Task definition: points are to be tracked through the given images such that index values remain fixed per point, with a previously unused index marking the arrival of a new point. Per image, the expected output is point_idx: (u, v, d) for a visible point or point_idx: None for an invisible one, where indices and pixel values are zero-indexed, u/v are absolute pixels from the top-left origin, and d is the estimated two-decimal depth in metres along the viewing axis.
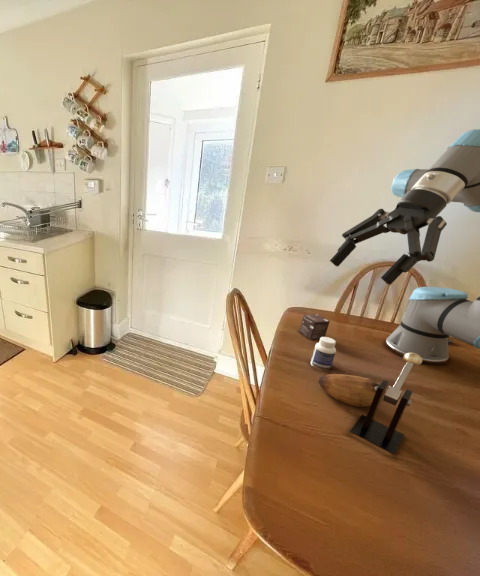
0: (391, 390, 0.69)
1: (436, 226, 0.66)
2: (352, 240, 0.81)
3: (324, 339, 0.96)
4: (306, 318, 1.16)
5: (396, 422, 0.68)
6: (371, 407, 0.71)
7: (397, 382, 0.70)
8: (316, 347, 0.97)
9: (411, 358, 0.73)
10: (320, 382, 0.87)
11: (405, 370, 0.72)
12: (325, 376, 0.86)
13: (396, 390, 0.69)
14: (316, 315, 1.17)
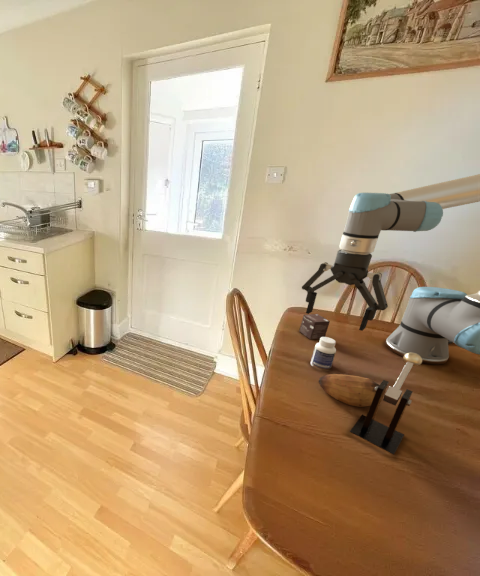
0: (391, 390, 0.69)
1: (378, 283, 0.83)
2: None
3: (324, 339, 0.96)
4: (306, 318, 1.16)
5: (396, 422, 0.68)
6: (371, 407, 0.71)
7: (397, 382, 0.70)
8: (316, 347, 0.97)
9: (411, 358, 0.73)
10: (320, 382, 0.87)
11: (405, 370, 0.72)
12: (325, 376, 0.86)
13: (396, 390, 0.69)
14: (316, 315, 1.17)
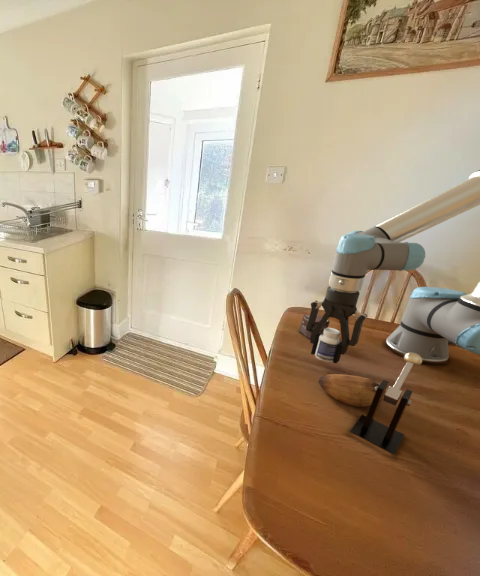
0: (391, 390, 0.69)
1: (360, 323, 0.88)
2: None
3: (328, 330, 0.95)
4: (306, 318, 1.16)
5: (396, 422, 0.68)
6: (371, 407, 0.71)
7: (397, 382, 0.70)
8: (320, 338, 0.96)
9: (411, 358, 0.73)
10: (320, 382, 0.87)
11: (405, 370, 0.72)
12: (325, 376, 0.86)
13: (396, 390, 0.69)
14: None
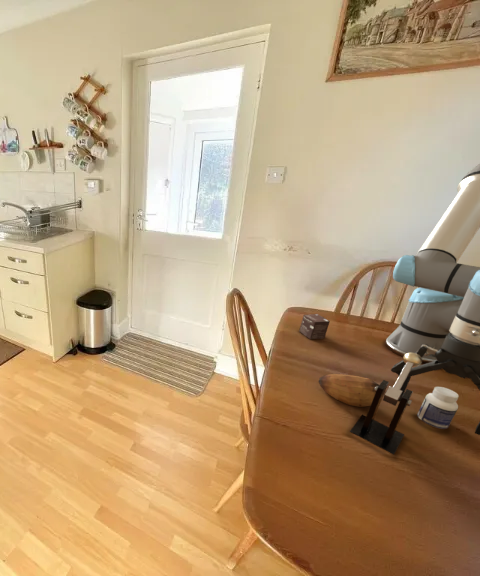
0: (391, 390, 0.69)
1: None
2: None
3: (441, 391, 0.74)
4: (306, 318, 1.16)
5: (396, 422, 0.68)
6: (371, 407, 0.71)
7: (397, 382, 0.70)
8: (429, 401, 0.75)
9: (411, 358, 0.73)
10: (320, 382, 0.87)
11: (405, 370, 0.72)
12: (325, 376, 0.86)
13: (396, 390, 0.69)
14: (316, 315, 1.17)
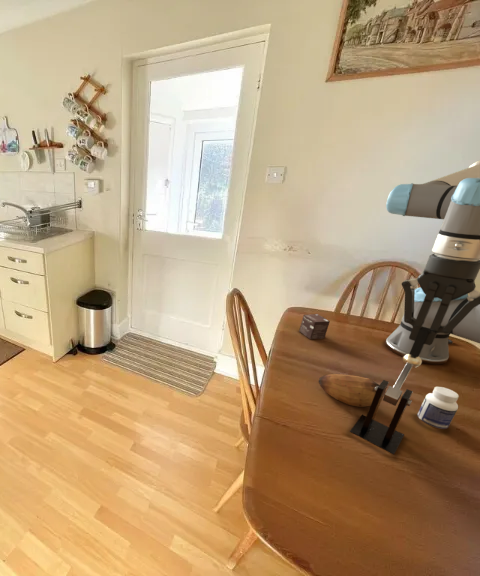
0: (391, 390, 0.69)
1: (474, 307, 0.64)
2: (421, 324, 0.71)
3: (441, 391, 0.74)
4: (306, 318, 1.16)
5: (396, 422, 0.68)
6: (371, 407, 0.71)
7: (397, 382, 0.71)
8: (429, 401, 0.75)
9: (411, 359, 0.73)
10: (320, 382, 0.87)
11: (405, 371, 0.72)
12: (325, 376, 0.86)
13: (396, 390, 0.69)
14: (316, 315, 1.17)
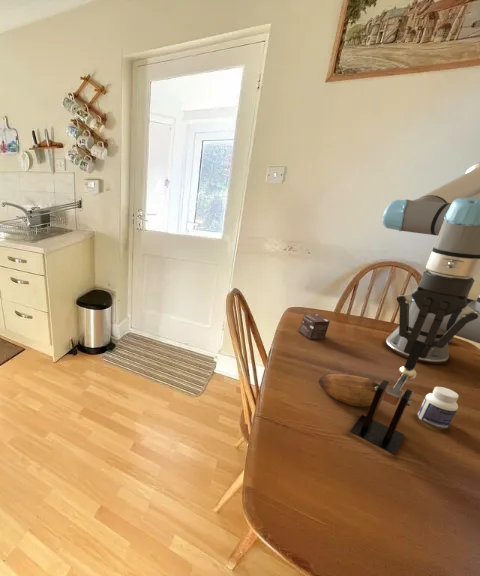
0: (392, 389, 0.69)
1: (466, 323, 0.65)
2: None
3: (441, 391, 0.74)
4: (306, 318, 1.16)
5: (396, 422, 0.68)
6: (371, 407, 0.71)
7: (396, 386, 0.71)
8: (429, 401, 0.75)
9: (407, 369, 0.75)
10: (320, 382, 0.87)
11: (402, 378, 0.73)
12: (325, 376, 0.86)
13: (396, 390, 0.69)
14: (316, 315, 1.17)
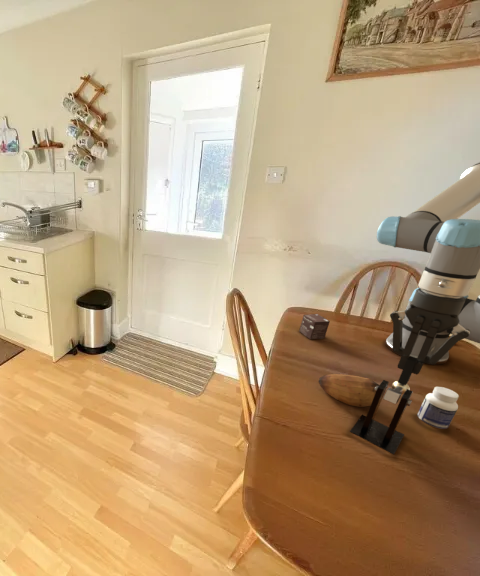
0: (392, 389, 0.70)
1: None
2: None
3: (441, 391, 0.74)
4: (306, 318, 1.16)
5: (396, 422, 0.68)
6: (371, 407, 0.71)
7: None
8: (429, 401, 0.75)
9: None
10: (320, 382, 0.87)
11: (398, 388, 0.74)
12: (325, 376, 0.86)
13: (396, 390, 0.69)
14: (316, 315, 1.17)
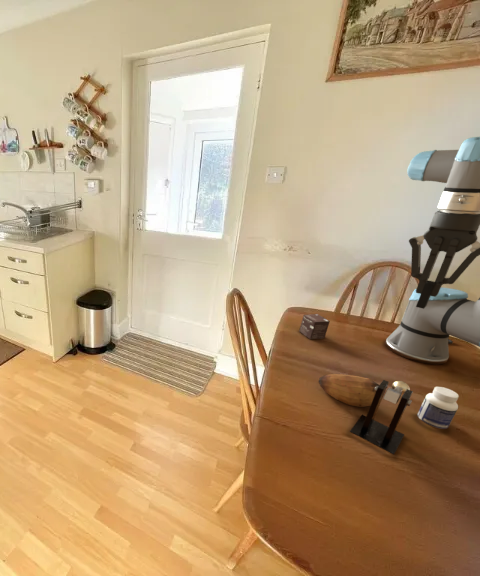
0: (392, 389, 0.70)
1: None
2: None
3: (441, 391, 0.74)
4: (306, 318, 1.16)
5: (396, 422, 0.68)
6: (371, 407, 0.71)
7: None
8: (429, 401, 0.75)
9: (401, 383, 0.76)
10: (320, 382, 0.87)
11: (398, 388, 0.74)
12: (325, 376, 0.86)
13: (396, 390, 0.69)
14: (316, 315, 1.17)
